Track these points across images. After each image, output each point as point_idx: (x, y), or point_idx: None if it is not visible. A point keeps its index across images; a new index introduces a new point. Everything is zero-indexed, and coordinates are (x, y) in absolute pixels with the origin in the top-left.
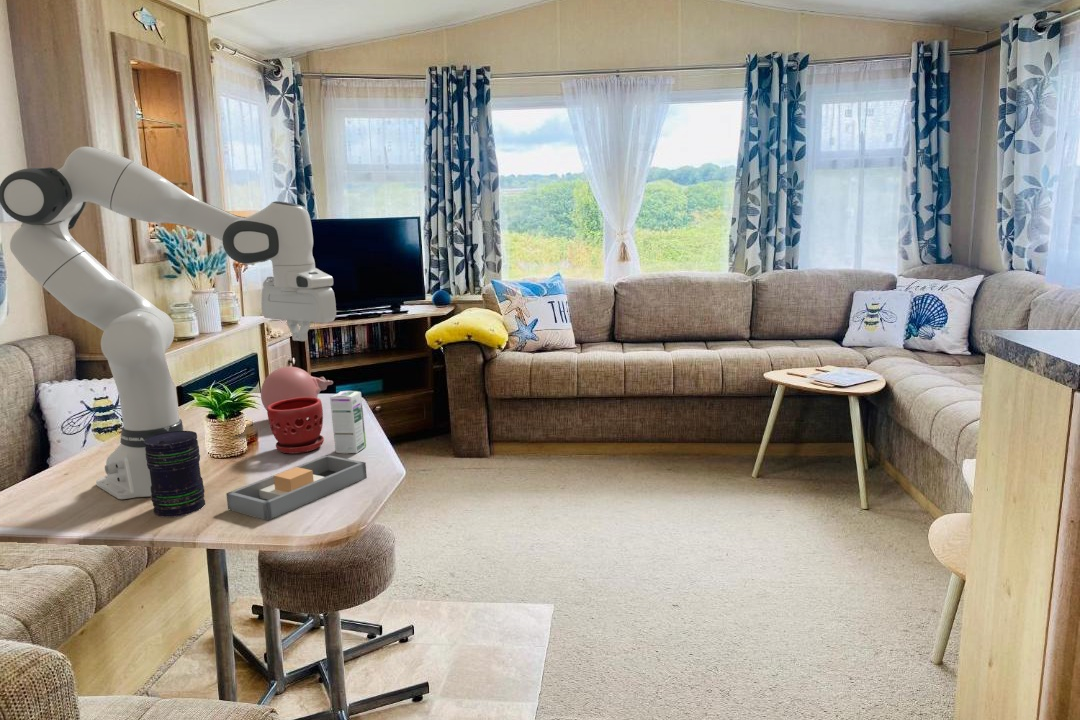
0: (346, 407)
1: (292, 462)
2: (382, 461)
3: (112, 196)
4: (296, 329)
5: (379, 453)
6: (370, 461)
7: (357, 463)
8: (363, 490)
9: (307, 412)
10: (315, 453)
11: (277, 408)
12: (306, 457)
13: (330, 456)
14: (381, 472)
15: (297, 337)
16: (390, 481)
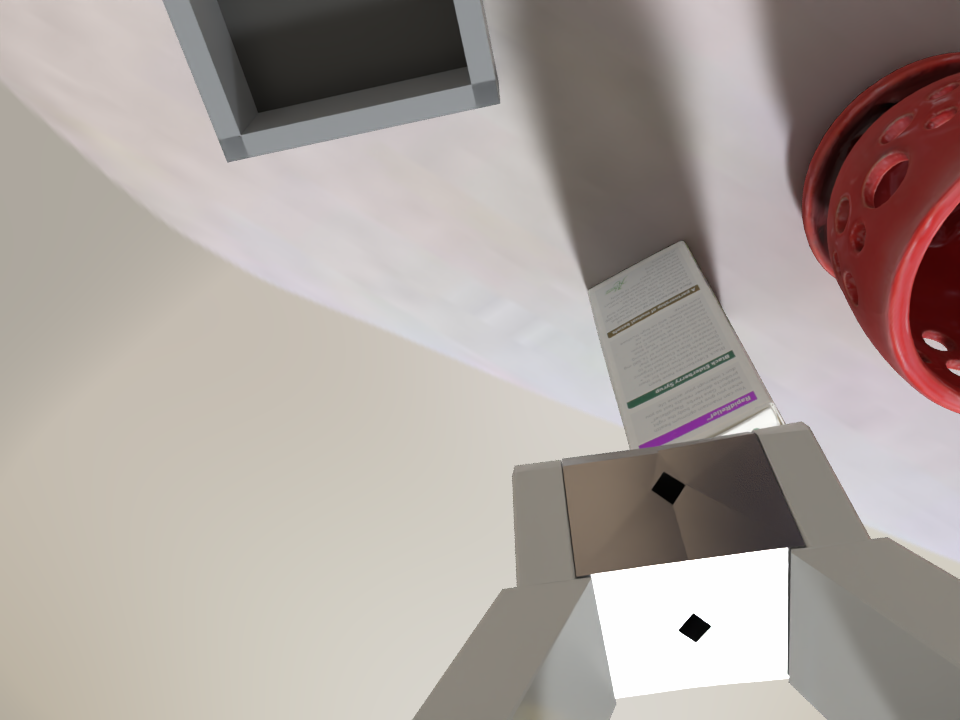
0: (654, 410)
1: (764, 16)
2: (399, 301)
3: None
4: (850, 685)
5: (506, 350)
6: (441, 270)
7: (251, 131)
8: (84, 21)
9: (879, 256)
10: (773, 176)
11: None
12: (763, 112)
13: (460, 99)
14: (266, 218)
15: (640, 487)
16: (124, 176)
